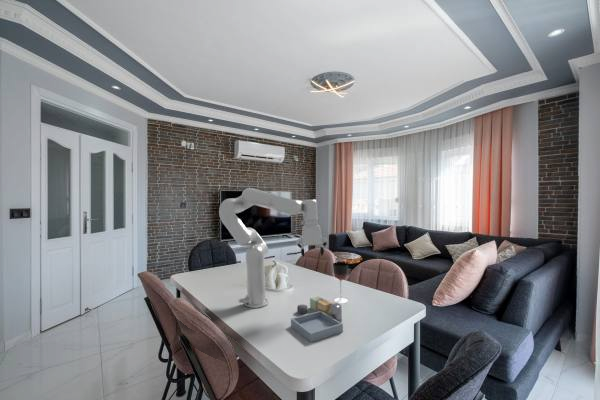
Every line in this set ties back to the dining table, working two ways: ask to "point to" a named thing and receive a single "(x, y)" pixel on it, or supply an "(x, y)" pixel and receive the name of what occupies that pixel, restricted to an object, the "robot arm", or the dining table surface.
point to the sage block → (315, 302)
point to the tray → (316, 326)
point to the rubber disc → (302, 309)
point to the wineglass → (340, 277)
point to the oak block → (325, 306)
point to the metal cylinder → (336, 312)
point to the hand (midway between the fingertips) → (312, 255)
